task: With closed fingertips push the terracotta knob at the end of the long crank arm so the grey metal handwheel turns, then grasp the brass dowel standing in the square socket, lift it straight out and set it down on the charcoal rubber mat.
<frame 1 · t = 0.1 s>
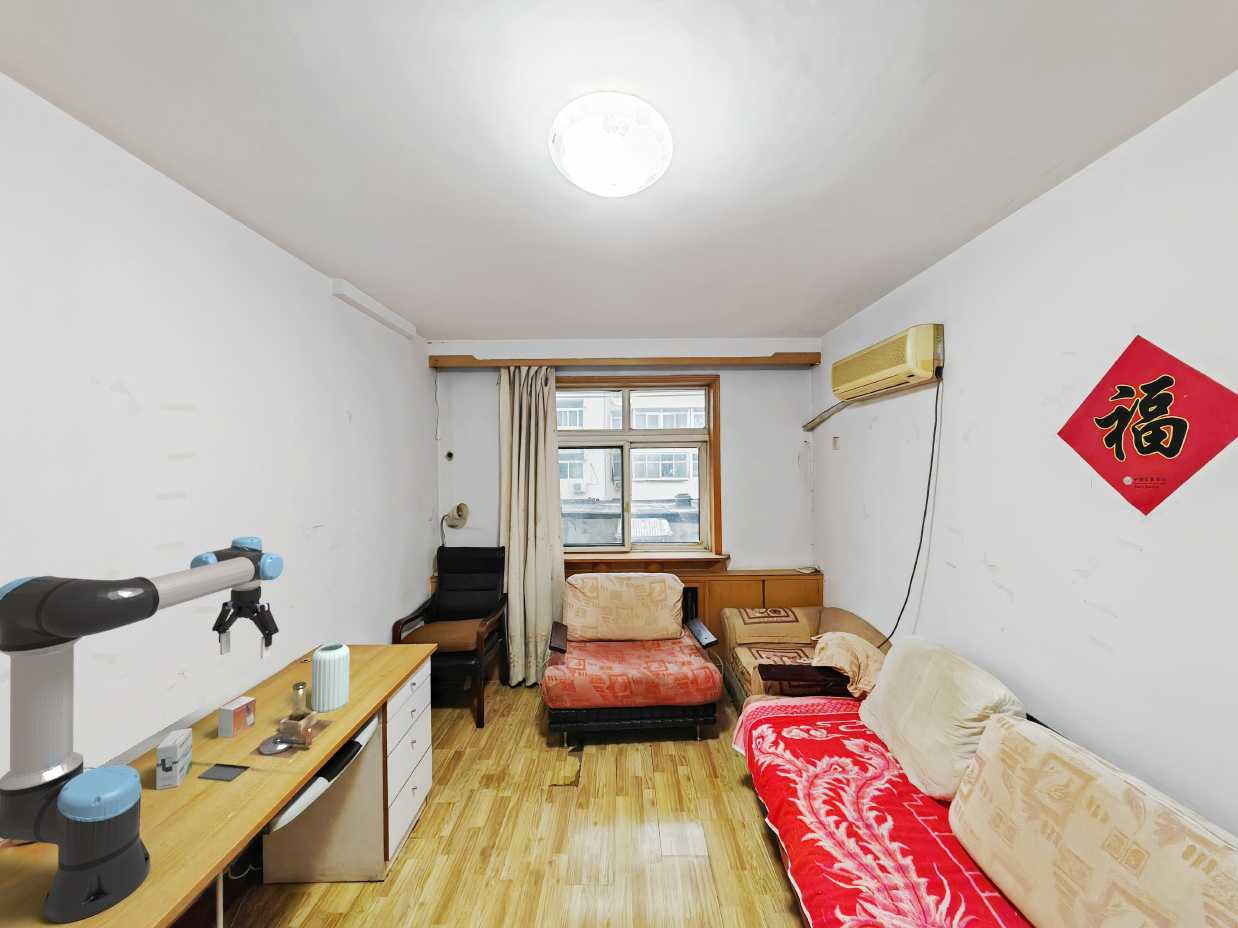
hand: (245, 655, 151), 28 cm above the table, fingers open, 13 cm apart
ink box: (174, 779, 135), on the table
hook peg: (298, 726, 159), point 1 cm above the table, touching mount board
square socket: (298, 731, 159), resting on mount board
handwheel: (287, 736, 148), point 5 cm above the table, hinge at 0.0°
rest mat: (230, 768, 140), on the table
small box: (237, 735, 156), on the table
mount board: (294, 740, 154), on the table
vase: (330, 708, 173), on the table
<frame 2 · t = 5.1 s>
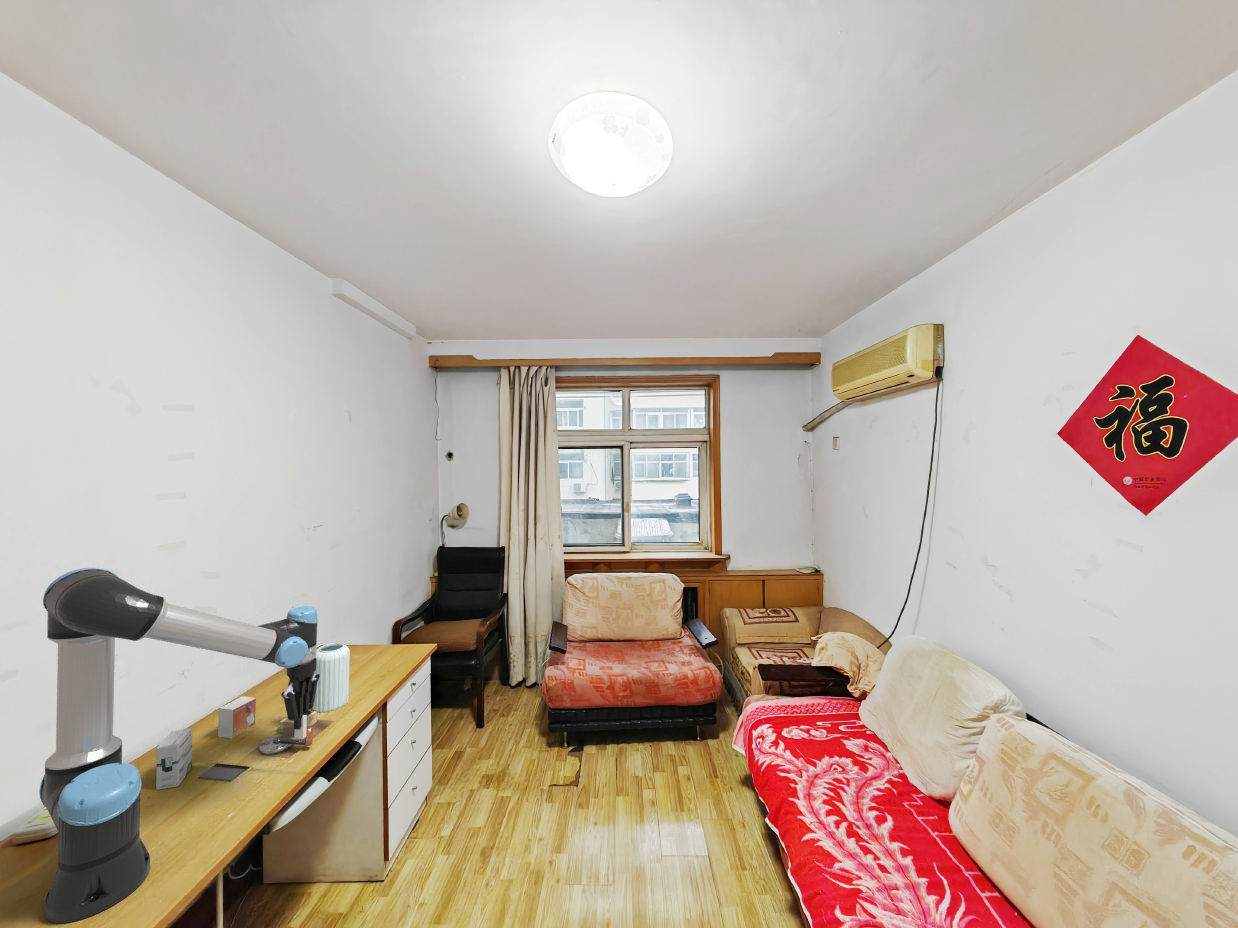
hand: (300, 737, 146), 6 cm above the table, fingers closed
handwheel: (287, 736, 148), point 5 cm above the table, hinge at 0.2°, touching gripper
everything else where it was.
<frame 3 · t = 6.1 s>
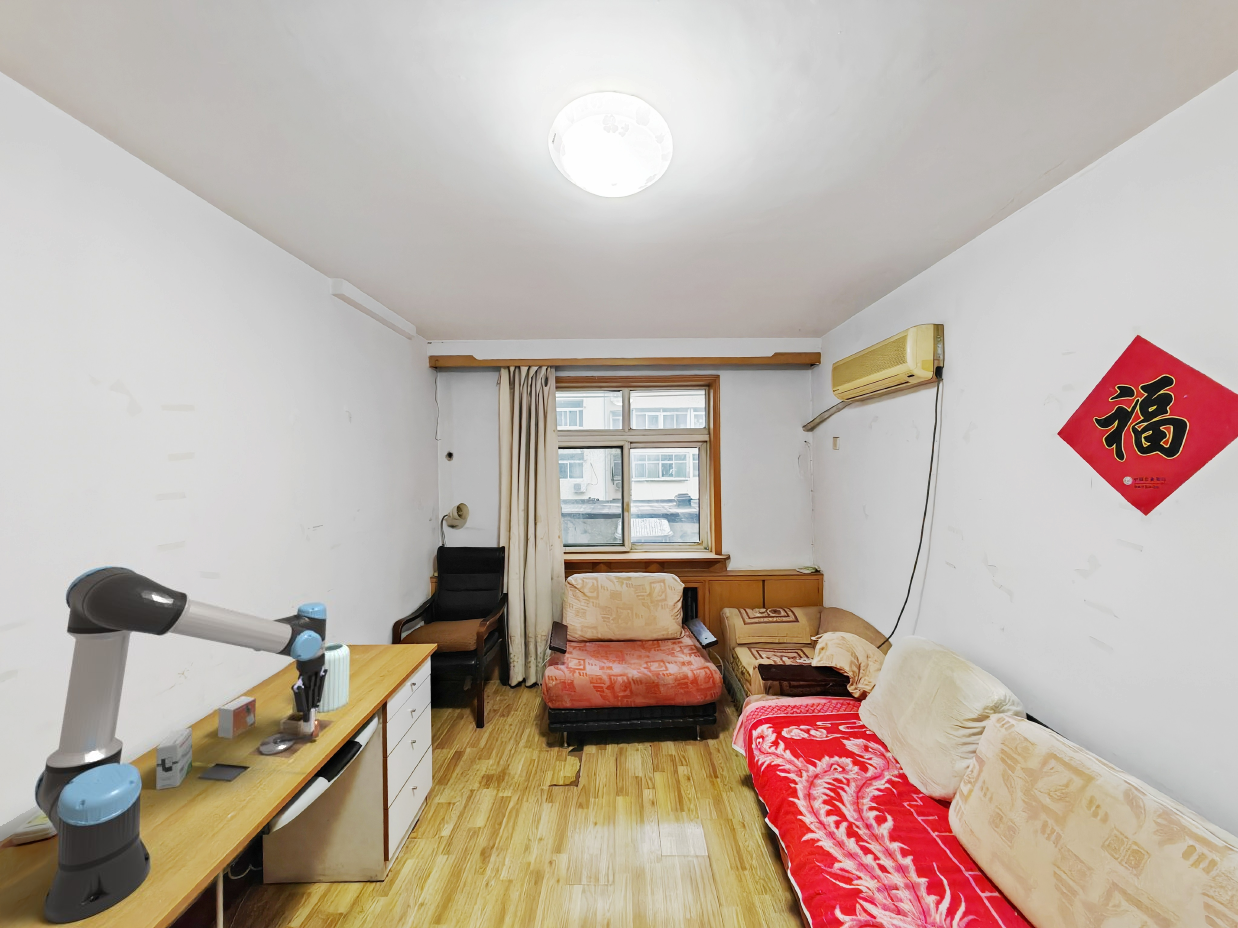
hand: (308, 730, 150), 6 cm above the table, fingers closed
handwheel: (290, 733, 149), point 5 cm above the table, hinge at 23.0°, touching gripper
everything else where it was.
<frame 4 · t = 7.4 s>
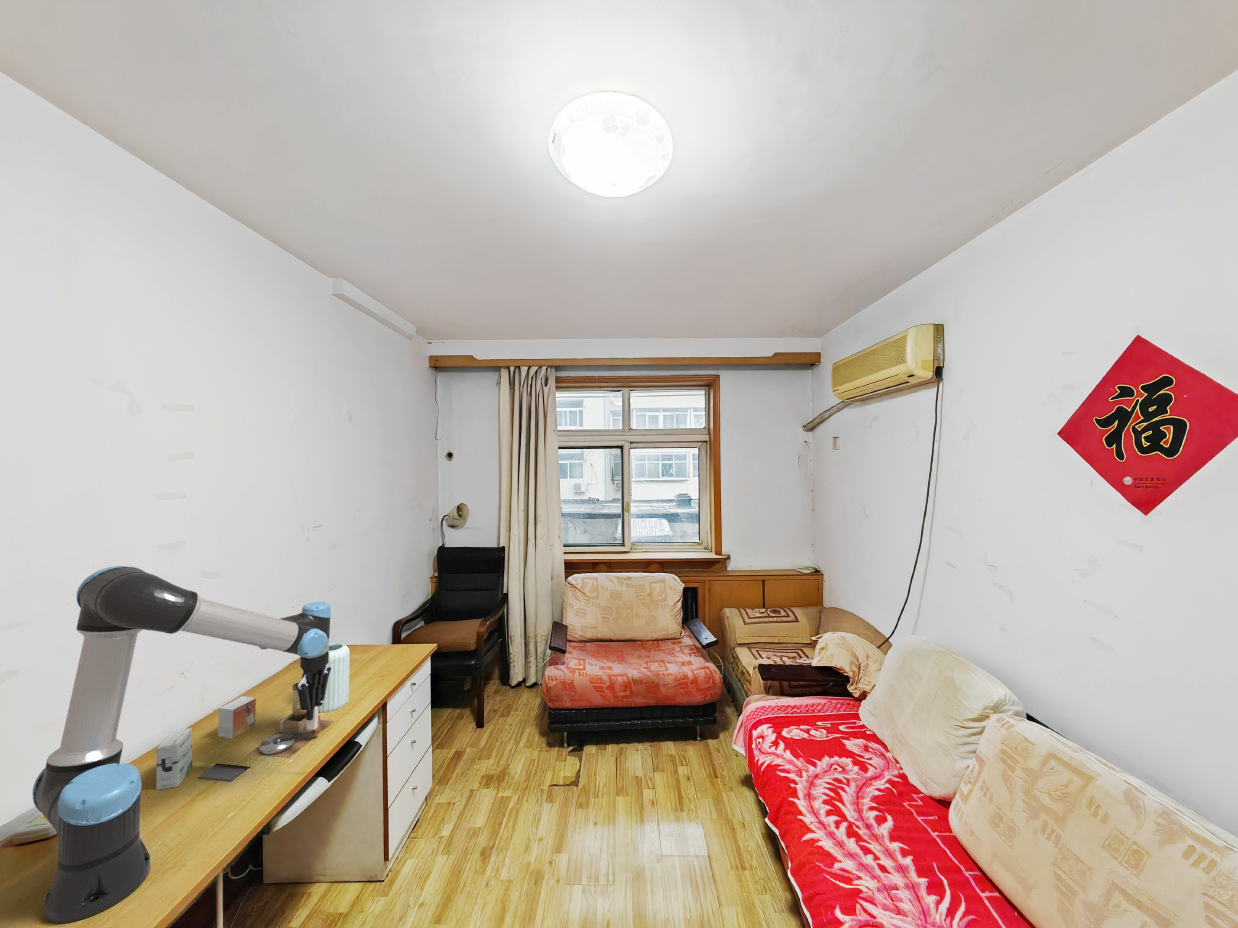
hand: (311, 727, 151), 6 cm above the table, fingers closed
handwheel: (290, 732, 150), point 5 cm above the table, hinge at 34.9°, touching gripper
everything else where it was.
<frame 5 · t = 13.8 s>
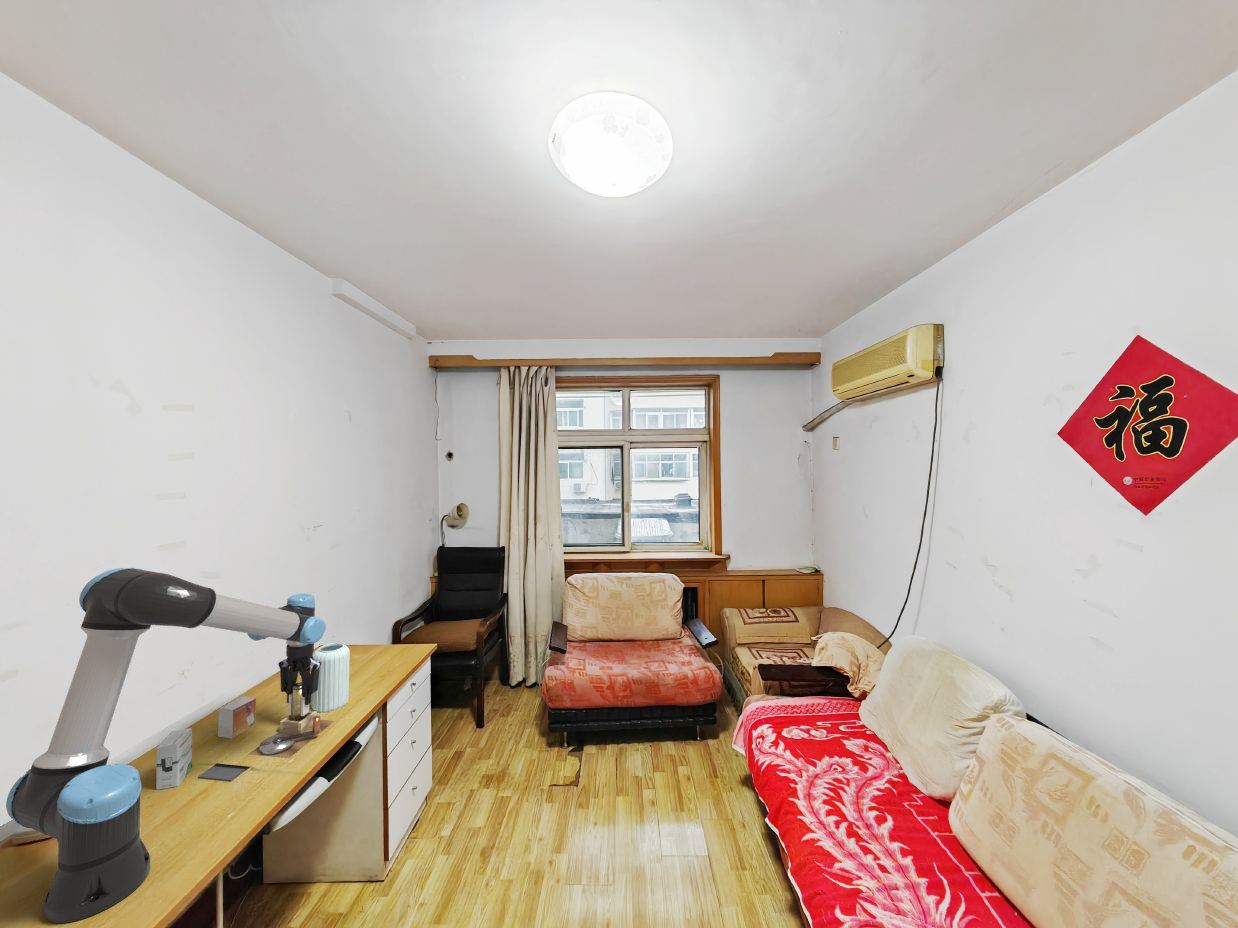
hand: (298, 712, 159), 6 cm above the table, fingers closed on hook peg, 3 cm apart
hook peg: (298, 726, 159), point 2 cm above the table, touching gripper, mount board
handwheel: (290, 732, 150), point 5 cm above the table, hinge at 35.1°
everything else where it was.
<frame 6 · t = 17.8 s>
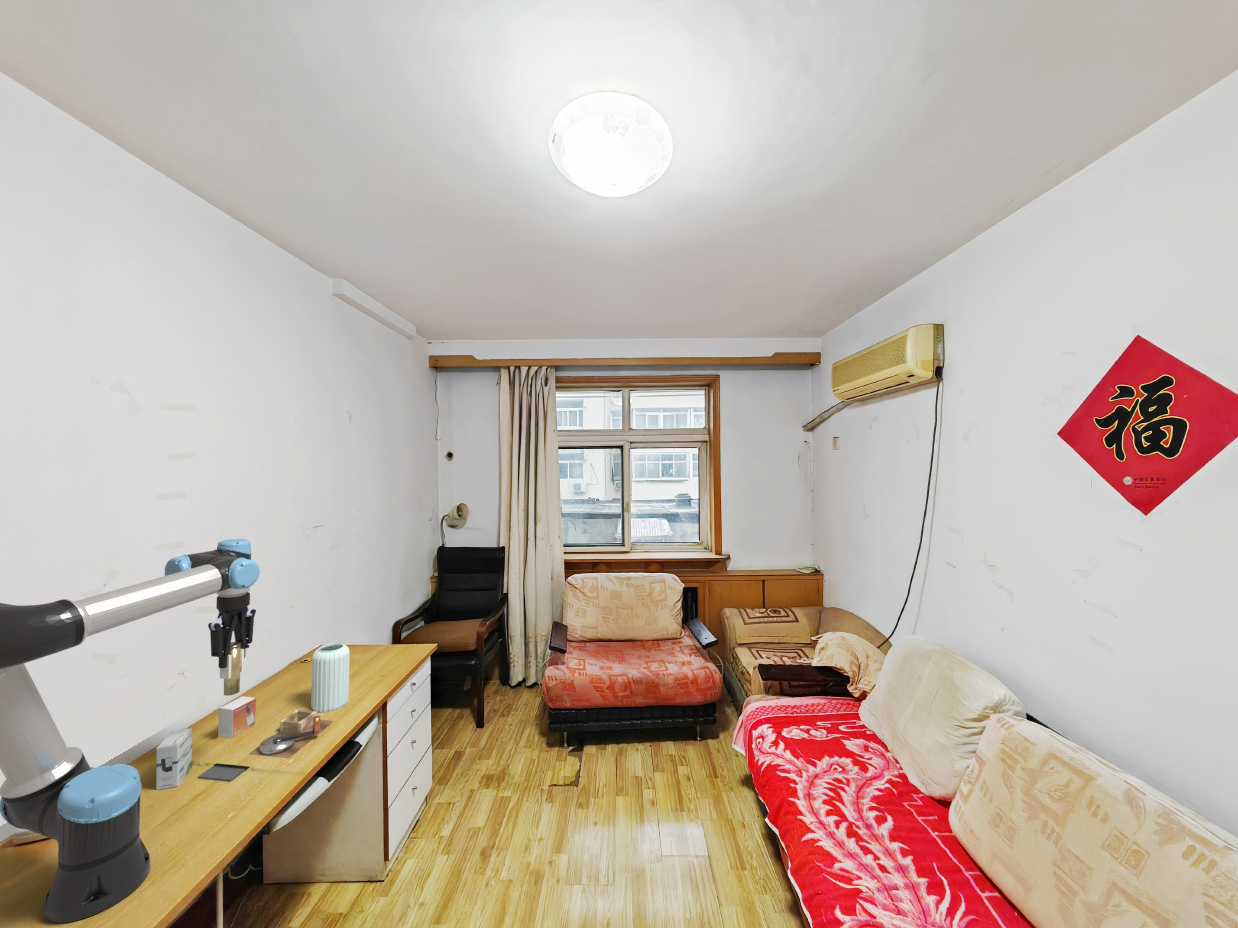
hand: (232, 674, 139), 27 cm above the table, fingers closed on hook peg, 3 cm apart
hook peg: (231, 692, 139), point 22 cm above the table, touching gripper
everything else where it was.
when the fingers open (7 cm above the table, at t = 21.9 s): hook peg stays where it is, resting on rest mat.
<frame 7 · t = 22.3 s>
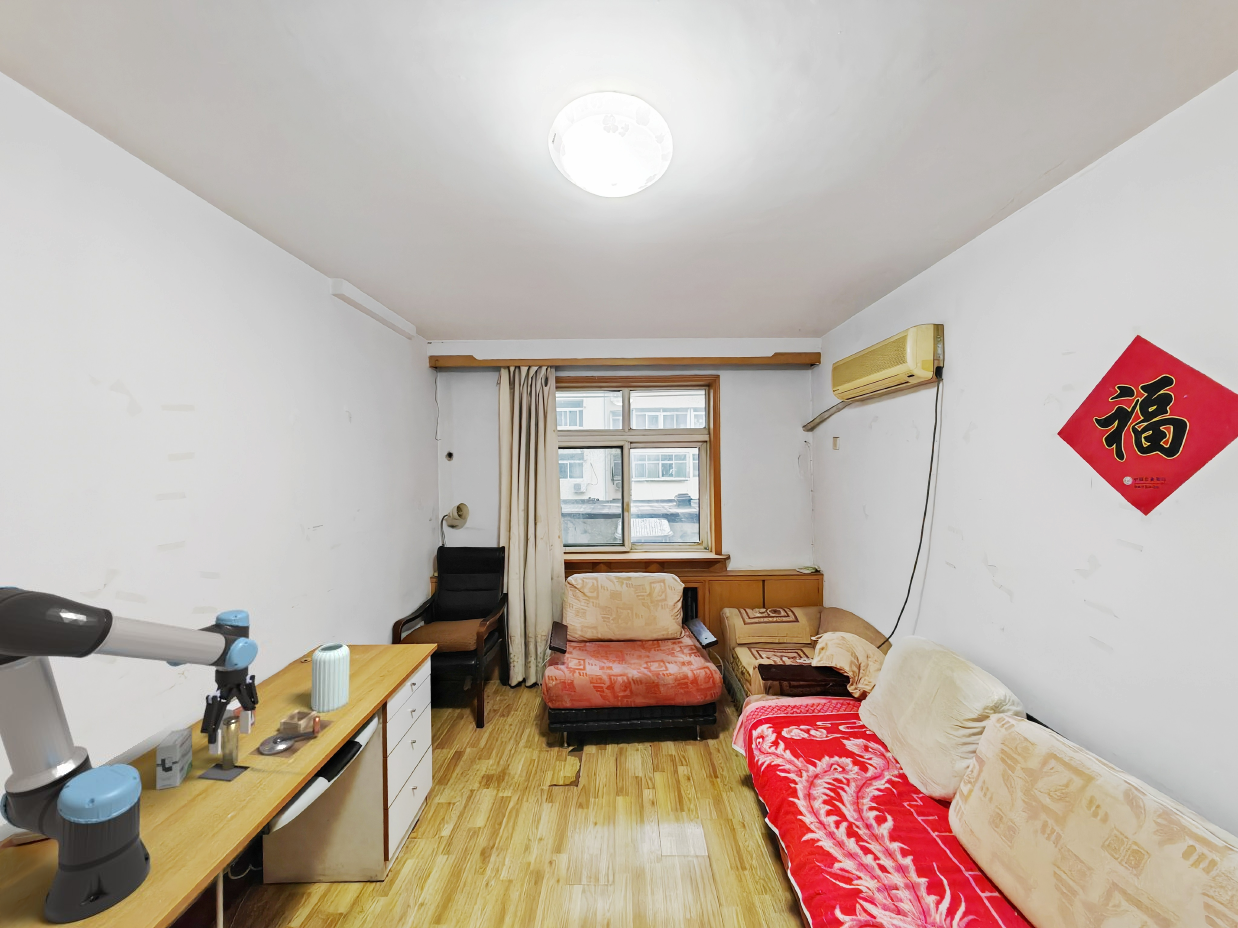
hand: (230, 742, 140), 8 cm above the table, fingers open, 9 cm apart
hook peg: (230, 766, 140), point 1 cm above the table, touching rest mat
everything else where it was.
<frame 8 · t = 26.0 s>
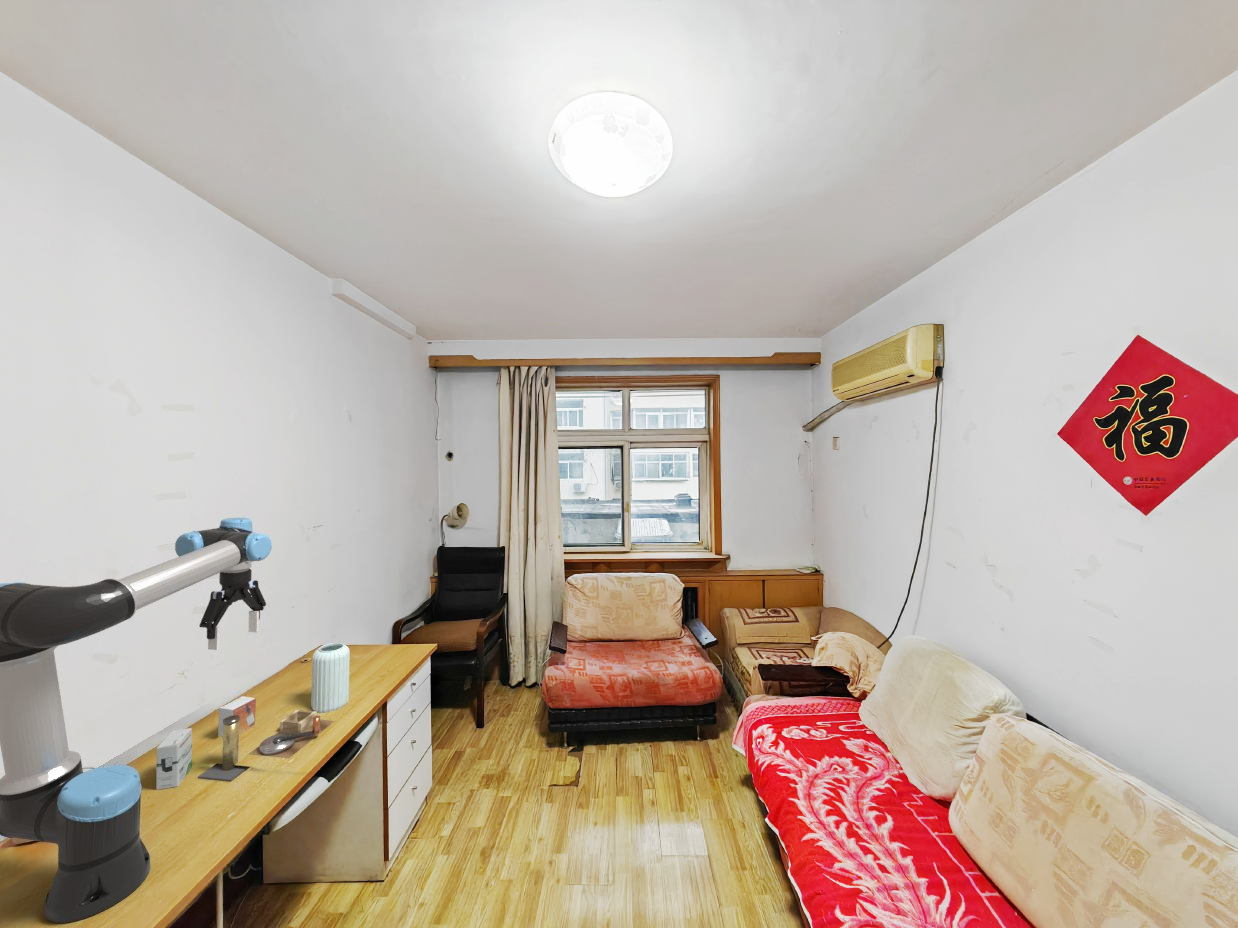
hand: (234, 640, 145), 35 cm above the table, fingers open, 13 cm apart
nothing on the table moved.
at the end: handwheel at +35° (first picture: +0°); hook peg inside the target area (0.1 cm from its centre), point 0.5 cm above the table; the gripper is holding nothing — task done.
